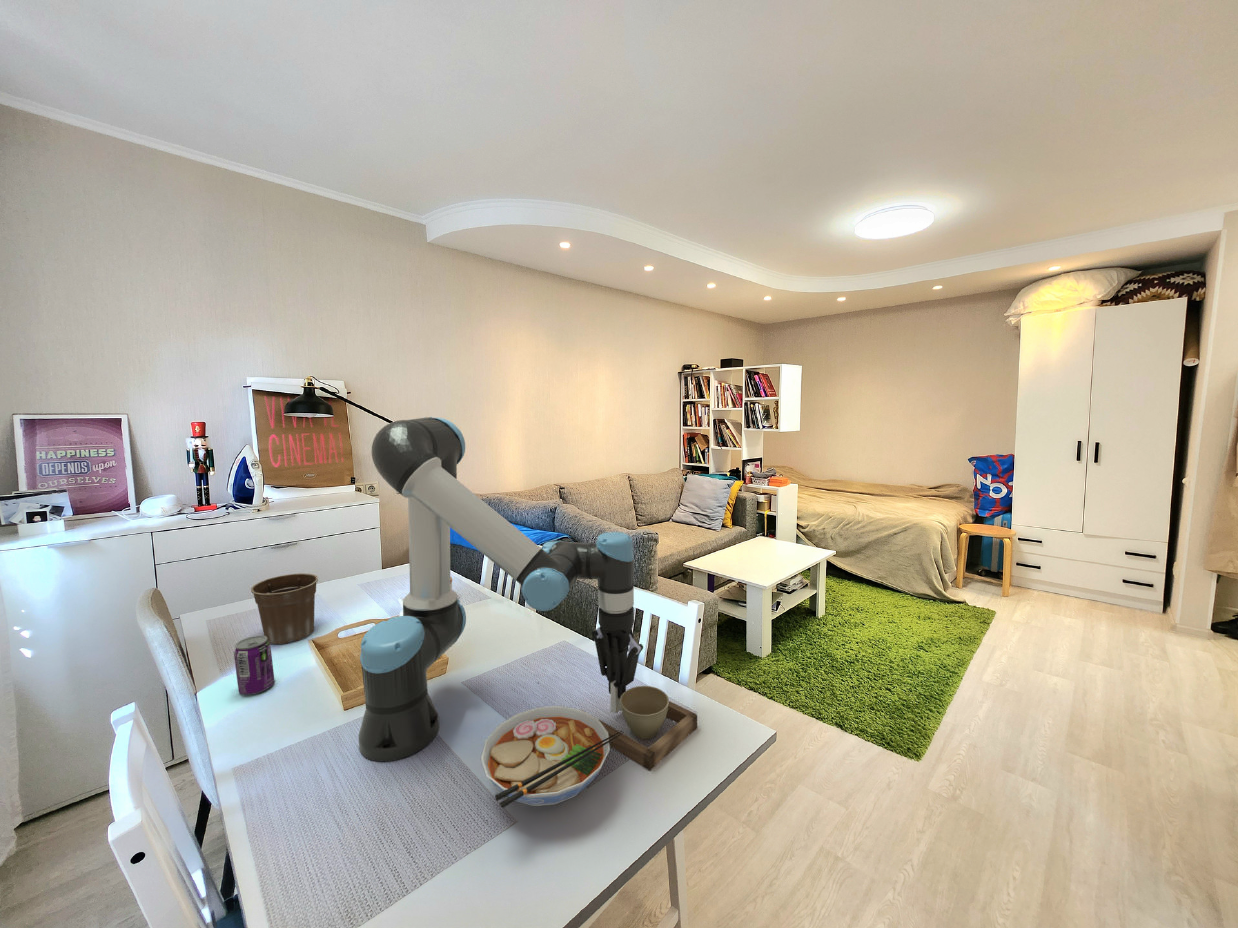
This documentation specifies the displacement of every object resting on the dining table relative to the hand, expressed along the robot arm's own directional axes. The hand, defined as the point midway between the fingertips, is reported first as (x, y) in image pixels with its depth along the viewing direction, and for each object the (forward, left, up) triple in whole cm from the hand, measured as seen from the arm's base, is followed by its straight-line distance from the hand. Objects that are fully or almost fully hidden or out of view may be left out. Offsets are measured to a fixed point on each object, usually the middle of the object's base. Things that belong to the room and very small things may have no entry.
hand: (617, 708), depth 109 cm
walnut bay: (0, -7, -2) cm, 7 cm away
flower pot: (0, -8, -2) cm, 8 cm away
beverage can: (-49, +73, -2) cm, 88 cm away
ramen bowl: (-22, -3, -2) cm, 23 cm away
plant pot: (-35, +98, -2) cm, 104 cm away
